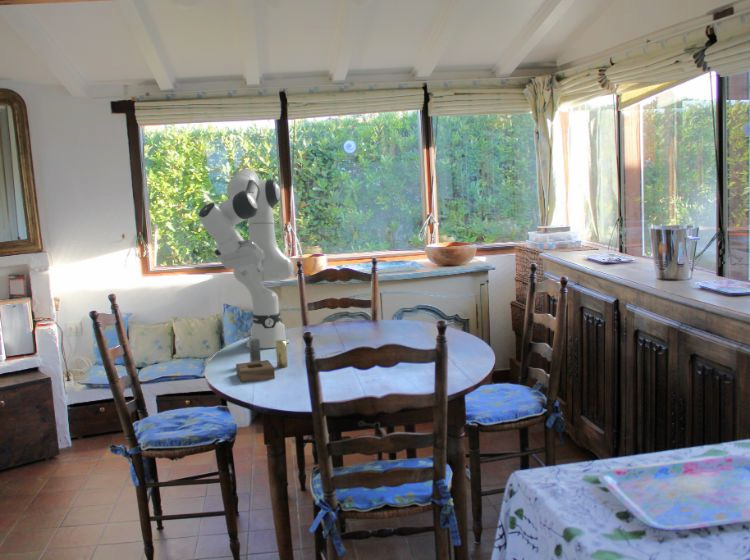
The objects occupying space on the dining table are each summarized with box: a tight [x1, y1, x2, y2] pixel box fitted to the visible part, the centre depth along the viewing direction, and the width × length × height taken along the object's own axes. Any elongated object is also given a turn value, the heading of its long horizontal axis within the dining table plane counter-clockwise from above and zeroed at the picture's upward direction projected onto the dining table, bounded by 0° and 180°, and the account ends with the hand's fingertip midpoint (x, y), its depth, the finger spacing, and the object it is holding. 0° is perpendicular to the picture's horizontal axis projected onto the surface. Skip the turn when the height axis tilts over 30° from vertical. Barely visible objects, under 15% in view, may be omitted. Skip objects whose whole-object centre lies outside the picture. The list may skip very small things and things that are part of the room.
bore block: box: [235, 359, 276, 383], centre depth 266 cm, size 12×12×4 cm
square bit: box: [248, 338, 262, 362], centre depth 282 cm, size 4×4×10 cm
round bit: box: [275, 340, 289, 369], centre depth 278 cm, size 4×4×10 cm
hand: (253, 273), depth 267 cm, fingers open, 8 cm apart
